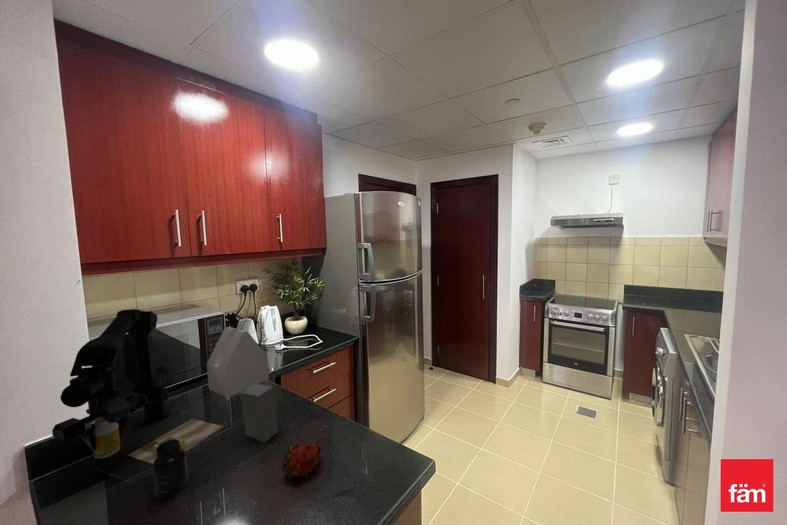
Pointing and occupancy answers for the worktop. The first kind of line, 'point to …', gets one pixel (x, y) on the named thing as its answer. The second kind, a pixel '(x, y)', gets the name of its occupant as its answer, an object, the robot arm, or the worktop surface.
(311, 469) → the dragon fruit
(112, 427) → the supplement bottle
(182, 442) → the stud finder
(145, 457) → the plywood board
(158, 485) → the supplement bottle
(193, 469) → the worktop surface
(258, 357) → the milk carton
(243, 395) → the skincare box
